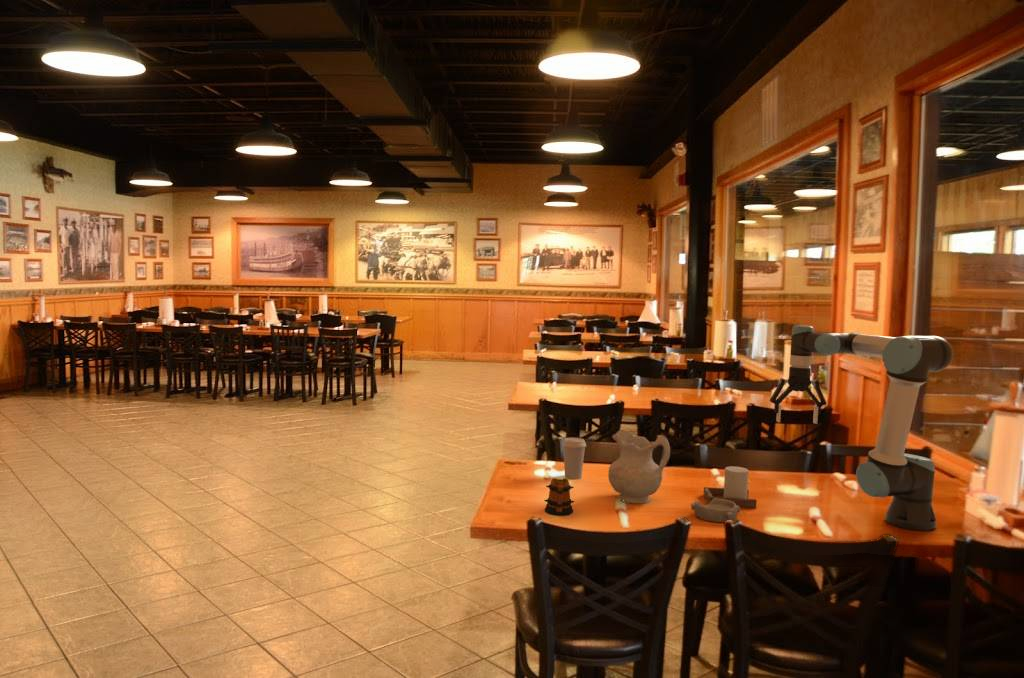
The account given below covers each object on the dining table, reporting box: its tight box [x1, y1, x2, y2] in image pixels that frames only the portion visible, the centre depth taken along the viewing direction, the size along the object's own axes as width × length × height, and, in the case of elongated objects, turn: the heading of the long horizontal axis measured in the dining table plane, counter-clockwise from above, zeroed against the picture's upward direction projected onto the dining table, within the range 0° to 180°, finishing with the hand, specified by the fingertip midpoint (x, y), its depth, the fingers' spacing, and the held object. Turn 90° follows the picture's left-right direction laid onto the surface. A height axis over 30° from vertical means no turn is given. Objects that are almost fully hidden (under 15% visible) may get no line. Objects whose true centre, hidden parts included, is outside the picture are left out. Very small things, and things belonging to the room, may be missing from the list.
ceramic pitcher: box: [608, 429, 671, 505], centre depth 279 cm, size 22×20×25 cm
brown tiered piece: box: [544, 477, 575, 517], centre depth 261 cm, size 13×10×12 cm
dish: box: [690, 498, 741, 523], centre depth 262 cm, size 14×14×5 cm
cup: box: [723, 465, 750, 499], centre depth 280 cm, size 8×8×12 cm
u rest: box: [702, 486, 758, 509], centre depth 280 cm, size 13×16×3 cm
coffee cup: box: [561, 437, 587, 480], centre depth 307 cm, size 10×10×15 cm
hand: (796, 422), depth 293 cm, fingers open, 13 cm apart
